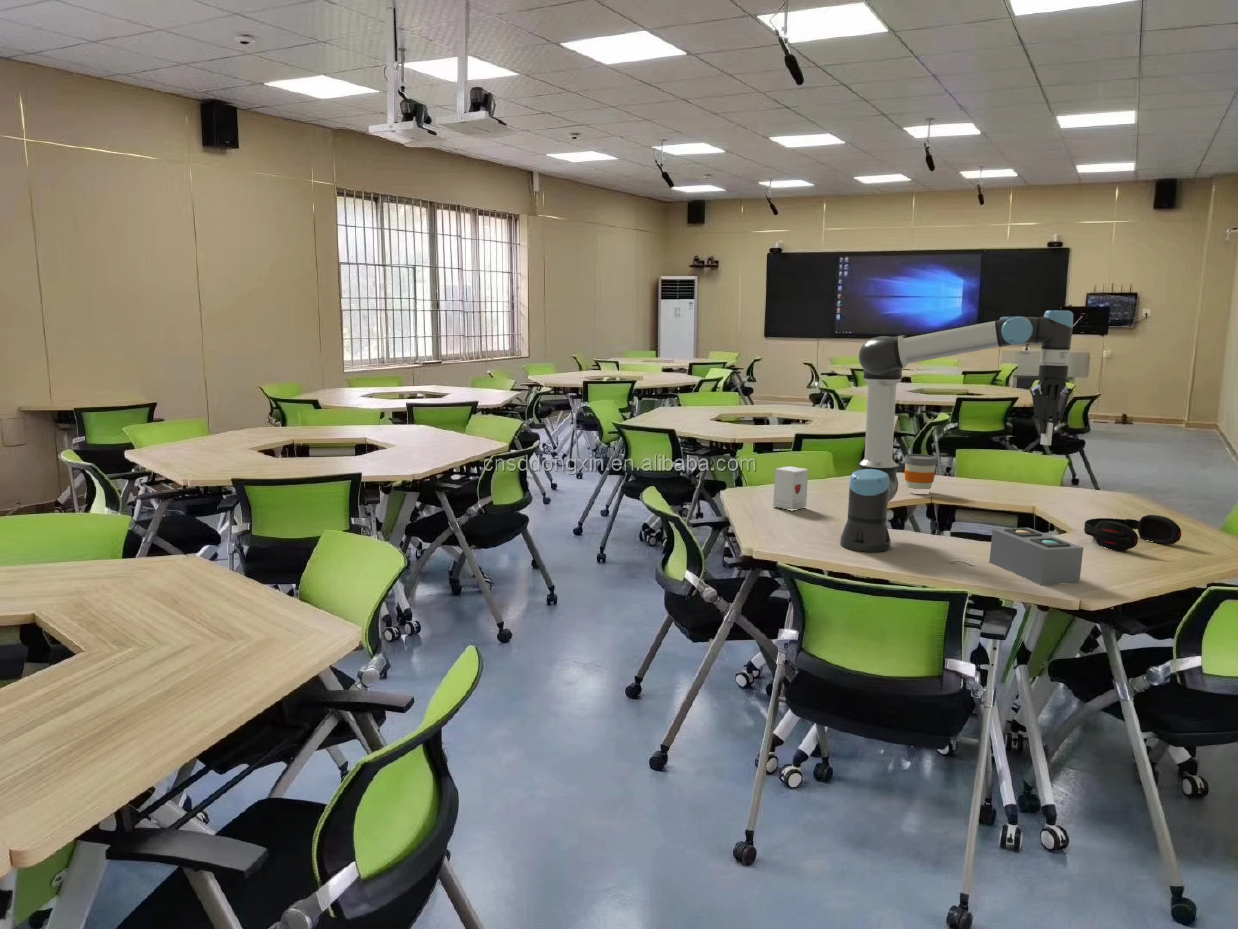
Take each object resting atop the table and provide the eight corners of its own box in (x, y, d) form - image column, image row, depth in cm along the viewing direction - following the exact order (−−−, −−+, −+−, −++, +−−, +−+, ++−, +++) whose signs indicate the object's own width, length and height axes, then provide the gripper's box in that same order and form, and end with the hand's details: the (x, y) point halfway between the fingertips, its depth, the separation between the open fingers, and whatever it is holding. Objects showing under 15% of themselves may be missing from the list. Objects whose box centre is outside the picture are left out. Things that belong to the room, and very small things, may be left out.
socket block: (989, 562, 250) (992, 527, 248) (1024, 560, 253) (1028, 525, 251) (1041, 585, 229) (1045, 547, 227) (1079, 583, 232) (1083, 545, 230)
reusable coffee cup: (896, 489, 353) (899, 454, 350) (925, 489, 354) (928, 454, 351) (910, 496, 340) (913, 459, 338) (940, 495, 342) (943, 459, 339)
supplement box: (791, 512, 310) (794, 471, 307) (772, 507, 316) (774, 468, 314) (807, 508, 316) (809, 469, 313) (787, 504, 322) (789, 465, 320)
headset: (1169, 563, 253) (1173, 534, 251) (1072, 546, 270) (1075, 519, 268) (1183, 544, 274) (1186, 518, 273) (1092, 530, 291) (1095, 505, 289)
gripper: (1043, 365, 241) (1035, 447, 245) (1082, 365, 244) (1073, 446, 248) (1025, 363, 248) (1017, 443, 252) (1063, 363, 251) (1055, 442, 255)
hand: (1045, 444), depth 250 cm, fingers closed
